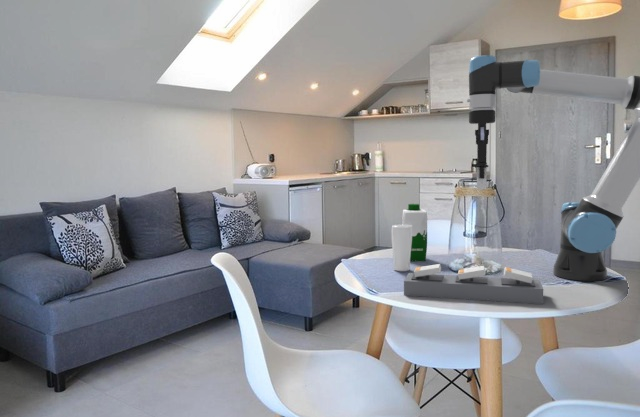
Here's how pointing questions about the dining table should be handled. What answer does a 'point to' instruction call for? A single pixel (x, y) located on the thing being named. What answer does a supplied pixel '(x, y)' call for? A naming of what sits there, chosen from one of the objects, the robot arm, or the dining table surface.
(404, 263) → the drinking glass
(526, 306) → the dining table surface
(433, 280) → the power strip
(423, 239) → the milk carton
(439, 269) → the rocker left
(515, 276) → the rocker right
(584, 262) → the robot arm
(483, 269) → the rocker middle
